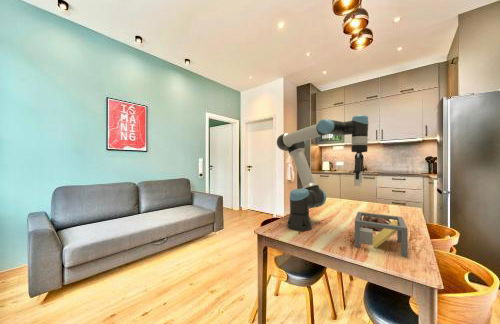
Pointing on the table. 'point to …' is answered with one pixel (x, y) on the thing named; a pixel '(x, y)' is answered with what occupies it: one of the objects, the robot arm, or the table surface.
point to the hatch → (384, 235)
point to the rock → (376, 220)
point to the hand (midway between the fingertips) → (358, 184)
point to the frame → (401, 233)
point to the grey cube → (366, 236)
